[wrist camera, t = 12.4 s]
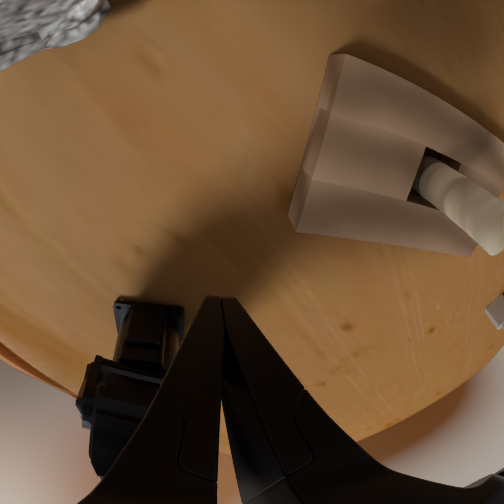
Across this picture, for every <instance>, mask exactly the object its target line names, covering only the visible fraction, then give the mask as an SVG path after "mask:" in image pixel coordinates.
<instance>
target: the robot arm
mask: <svg viewBox="0 0 504 504" xmlns="http://www.w3.org/2000/svg"><path fill="white" fill-rule="evenodd" d="M113 308H114V314H115V320H116V326H117V331H118V338H117V342H116V347H115V352H114V357H113V361H112V360H109V359H105V358H102V356H99V355H96V357H95V360H94V362H92V363H91V364H88V365H87V369H86V373H85V377H84V381H83V383H82V386H81V388H80V391H79V393H78V396H77V399H76V407H77V408H78V410H79V411H80V413H81V418H82V427H83V428H86V429H89V430H91V431H90V442H89V457H90V459H91V463H92V465H93V468H94V470H95V472H96V474H97V475H98V476H99V477H100V478H101V481H100V483H99V484H98V485H97V486H96V487H95V488H94V489H93V491H92V492H91V493H89V494H88V495H87V496H86V497H85V498H84V499H82V500H81V501H80V502H79V503H77V504H217V483H216V482H217V476H218V452H219V430H220V411H221V400H222V406H223V411H224V417H225V423H226V428H227V434H228V439H229V444H230V449H231V454H232V459H233V464H234V469H235V474H236V479H237V483H238V488H239V492H240V497H241V501H242V503H243V504H504V468H503V469H501V470H500V471H498V472H496V473H495V474H490V475H488V476H486V477H484V478H482V479H480V480H478V481H476V482H474V483H472V484H470V485H468V486H466V487H464V488H461V487H454V486H450V485H445V484H440V483H436V482H432V481H428V480H424V479H420V478H416V477H412V476H409V475H406V474H402V473H399V472H396V471H393V470H391V469H389V468H387V467H385V466H384V465H382V464H381V463H379V462H378V461H376V460H375V459H374V458H373V457H372V456H371V455H369V454H368V453H367V452H366V451H365V450H364V449H363V448H362V447H361V446H359V445H358V444H357V443H356V442H355V441H354V440H353V439H352V438H351V437H350V436H349V435H348V434H347V433H345V432H344V431H343V430H342V429H341V428H340V427H339V426H338V425H337V424H336V423H335V422H334V421H333V420H332V419H331V418H330V417H329V416H328V415H327V414H326V412H325V411H324V410H323V409H322V408H321V407H320V405H319V404H318V403H317V402H316V401H315V400H314V398H313V397H312V396H311V395H310V393H309V392H308V391H307V390H306V389H305V390H304V386H303V385H302V384H301V382H300V381H299V380H298V379H297V377H296V376H295V375H294V373H293V372H292V371H291V370H290V368H289V367H288V366H287V365H286V363H285V362H284V361H283V359H282V358H281V357H280V356H279V354H278V353H277V352H276V350H275V349H274V348H273V346H272V345H271V344H270V342H269V341H268V340H267V339H266V337H265V336H264V335H263V333H262V332H261V331H260V329H259V328H258V327H257V325H256V324H255V323H254V321H253V320H252V319H251V317H250V316H249V315H248V313H247V312H246V311H245V309H244V308H243V307H242V305H241V304H240V302H239V301H238V300H237V299H236V298H234V297H222V298H221V299H220V297H219V296H205V297H204V299H203V301H202V303H201V305H200V307H199V309H198V311H197V313H196V315H195V317H194V319H193V321H192V323H191V325H190V327H189V329H188V331H187V333H186V335H185V337H184V339H183V331H184V315H185V310H184V308H182V307H179V306H168V305H157V304H147V303H138V302H128V301H120V300H117V301H115V302H114V306H113Z"/></svg>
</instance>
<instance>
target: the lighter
mask: <svg viewBox="0 0 504 504" xmlns="http://www.w3.org/2000/svg"><path fill="white" fill-rule="evenodd" d="M485 313H486V315H487V316H488V317H489V319H490V320H491V321H492V323H493V324H494V325H495V327H496V328H497V329H498V330H500V329H501V328H502V327H503V329H504V296H503V295H502V294H501V295H499V296H498V297H497V298H496V299H495V300H494V301H493V302H492V303H491V304H490V305H488V306H487V307H486V308H485Z"/></svg>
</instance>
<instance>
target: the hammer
mask: <svg viewBox="0 0 504 504" xmlns="http://www.w3.org/2000/svg"><path fill="white" fill-rule="evenodd" d="M110 8H111V6H110V4H109V2H108V0H0V71H1V70H3V69H5V68H7V67H9V66H11V65H13V64H15V63H17V62H20V61H22V60H24V59H26V58H28V57H29V56H31V55H33V54H35V53H36V52H38V51H40V50H44V49H50V48H57V47H62V46H65V45H68V44H71V43H73V42H76V41H79V40H82V39H84V38H86V37H87V36H89V35H90V34H91V33H93V32H94V31H96V30H97V29H99V28H100V26H101V24H102V22H103V21H104V19H105V17H106V15H107V13H108V12H109V10H110Z"/></svg>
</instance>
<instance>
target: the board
mask: <svg viewBox="0 0 504 504" xmlns="http://www.w3.org/2000/svg"><path fill="white" fill-rule="evenodd" d="M426 147H429V148H431V149H433V150H435V151H437V152H439V153H442V156H441V159H440V161H442V162H443V163H445V164H446V165H447V166H449V167H451V168H452V169H454V170H456V171H457V172H459V173H461V174H462V175H464V176H465V177H467V178H469V179H470V180H472V181H473V182H475V183H476V184H478V185H479V186H481V187H482V188H484V189H485V190H487V191H488V192H490V193H491V194H493V195H494V196H495V197H497V198H499V196H500V193H501V191H502V188H503V186H504V143H503V142H502V141H501V140H500V139H498V138H497V137H496V136H494V135H493V134H492V133H491V132H489V131H488V130H487V129H485V128H484V127H482V126H481V125H480V124H478V123H477V122H475V121H474V120H473V119H471V118H470V117H468V116H467V115H465V114H464V113H462V112H461V111H459V110H458V109H456V108H455V107H453V106H451V105H450V104H448V103H446V102H445V101H443V100H442V99H440V98H438V97H436V96H435V95H433V94H431V93H429V92H428V91H426V90H424V89H422V88H420V87H419V86H417V85H415V84H413V83H411V82H409V81H407V80H405V79H403V78H401V77H399V76H397V75H395V74H393V73H391V72H388V71H386V70H384V69H382V68H380V67H377V66H375V65H373V64H370V63H368V62H366V61H363V60H361V59H358V58H356V57H353V56H350V55H348V54H335V55H329V59H328V63H327V67H326V72H325V76H324V80H323V84H322V88H321V92H320V95H319V99H318V103H317V107H316V111H315V115H314V119H313V123H312V126H311V130H310V134H309V138H308V142H307V145H306V149H305V153H304V157H303V160H302V164H301V168H300V171H299V175H298V179H297V182H296V186H295V189H294V193H293V197H292V200H291V204H290V207H289V211H288V214H287V215H288V217H289V219H290V221H291V223H292V225H293V227H294V229H295V231H296V232H299V233H307V234H315V235H323V236H331V237H338V238H346V239H353V240H361V241H368V242H375V243H382V244H389V245H396V246H403V247H410V248H416V249H423V250H430V251H436V252H442V253H449V254H455V255H461V256H467V257H471V255H472V253H473V251H474V249H475V247H476V246H477V244H478V243H477V242H476V241H475V240H474V239H473V238H471V237H470V236H469V235H468V234H467V233H466V232H465V231H464V230H463V229H461V228H460V227H459V226H458V225H457V224H456V223H455V222H453V221H452V220H451V219H450V218H449V217H447V216H446V215H445V214H444V213H443V212H441V211H440V210H439V209H438V208H437V207H435V206H434V205H433V204H432V203H430V202H429V201H427V200H425V199H424V198H423V197H421V196H418V195H414V194H411V193H409V192H410V190H411V187H412V184H413V182H414V179H415V176H416V174H417V171H418V168H419V165H420V163H421V160H422V157H423V154H424V151H425V148H426Z"/></svg>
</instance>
